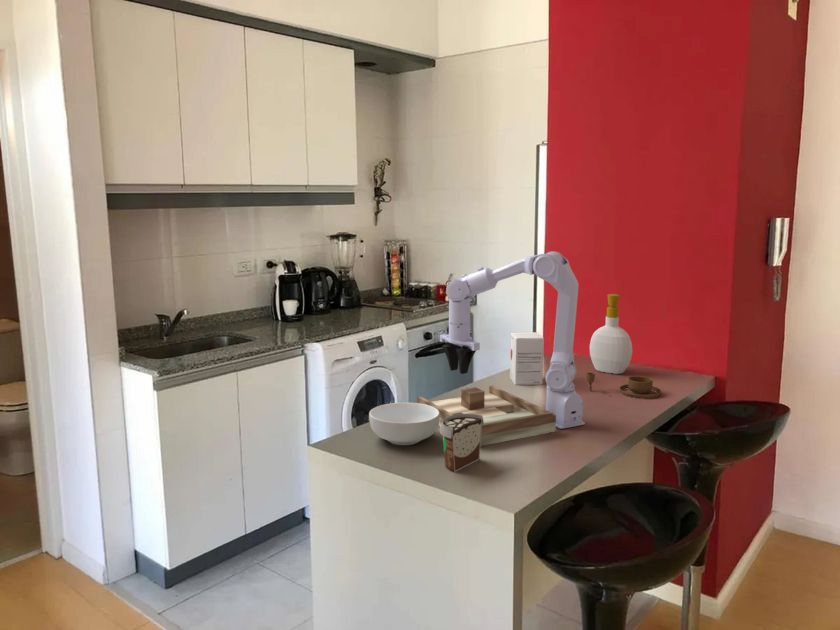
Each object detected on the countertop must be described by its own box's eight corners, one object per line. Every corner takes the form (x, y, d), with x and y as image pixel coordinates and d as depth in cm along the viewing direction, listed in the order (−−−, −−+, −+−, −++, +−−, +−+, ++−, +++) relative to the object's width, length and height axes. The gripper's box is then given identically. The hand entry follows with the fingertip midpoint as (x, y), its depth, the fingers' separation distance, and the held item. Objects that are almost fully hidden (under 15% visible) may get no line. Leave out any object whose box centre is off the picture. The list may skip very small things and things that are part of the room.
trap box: (555, 431, 172) (556, 412, 172) (472, 447, 162) (473, 427, 161) (492, 400, 198) (492, 383, 197) (417, 412, 187) (417, 394, 186)
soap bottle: (635, 372, 230) (640, 294, 225) (625, 377, 223) (630, 298, 218) (595, 365, 238) (598, 290, 234) (584, 370, 231) (587, 293, 227)
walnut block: (484, 407, 183) (484, 391, 182) (469, 410, 181) (469, 393, 180) (475, 403, 187) (475, 387, 186) (461, 405, 185) (461, 389, 184)
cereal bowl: (451, 435, 170) (451, 407, 168) (417, 457, 156) (417, 427, 154) (393, 423, 178) (393, 397, 177) (355, 443, 164) (355, 415, 163)
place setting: (648, 405, 195) (649, 385, 194) (582, 393, 208) (583, 374, 207) (669, 392, 209) (670, 373, 208) (606, 380, 221) (607, 363, 220)
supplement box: (509, 377, 223) (510, 332, 220) (536, 377, 223) (538, 331, 221) (514, 385, 214) (515, 337, 211) (543, 384, 214) (544, 337, 212)
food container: (461, 451, 160) (461, 409, 158) (483, 457, 156) (484, 414, 154) (427, 467, 150) (427, 423, 148) (450, 474, 146) (450, 429, 145)
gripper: (488, 325, 184) (487, 374, 186) (453, 317, 195) (453, 364, 197) (468, 328, 180) (467, 378, 182) (434, 320, 191) (433, 367, 193)
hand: (458, 371), depth 189 cm, fingers open, 4 cm apart
